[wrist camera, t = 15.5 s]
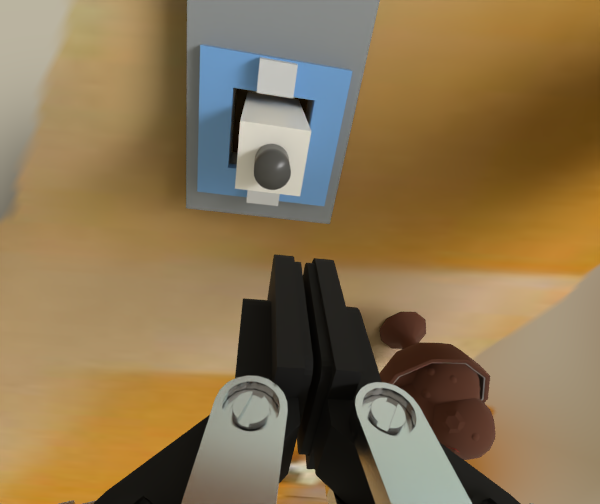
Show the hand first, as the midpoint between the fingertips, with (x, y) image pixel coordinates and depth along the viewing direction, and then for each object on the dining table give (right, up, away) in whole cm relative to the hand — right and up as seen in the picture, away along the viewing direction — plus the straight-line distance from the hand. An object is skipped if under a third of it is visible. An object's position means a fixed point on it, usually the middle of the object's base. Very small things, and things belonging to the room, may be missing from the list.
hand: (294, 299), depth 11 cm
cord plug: (-2, +12, +20) cm, 23 cm away
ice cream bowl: (+12, -8, +33) cm, 36 cm away
